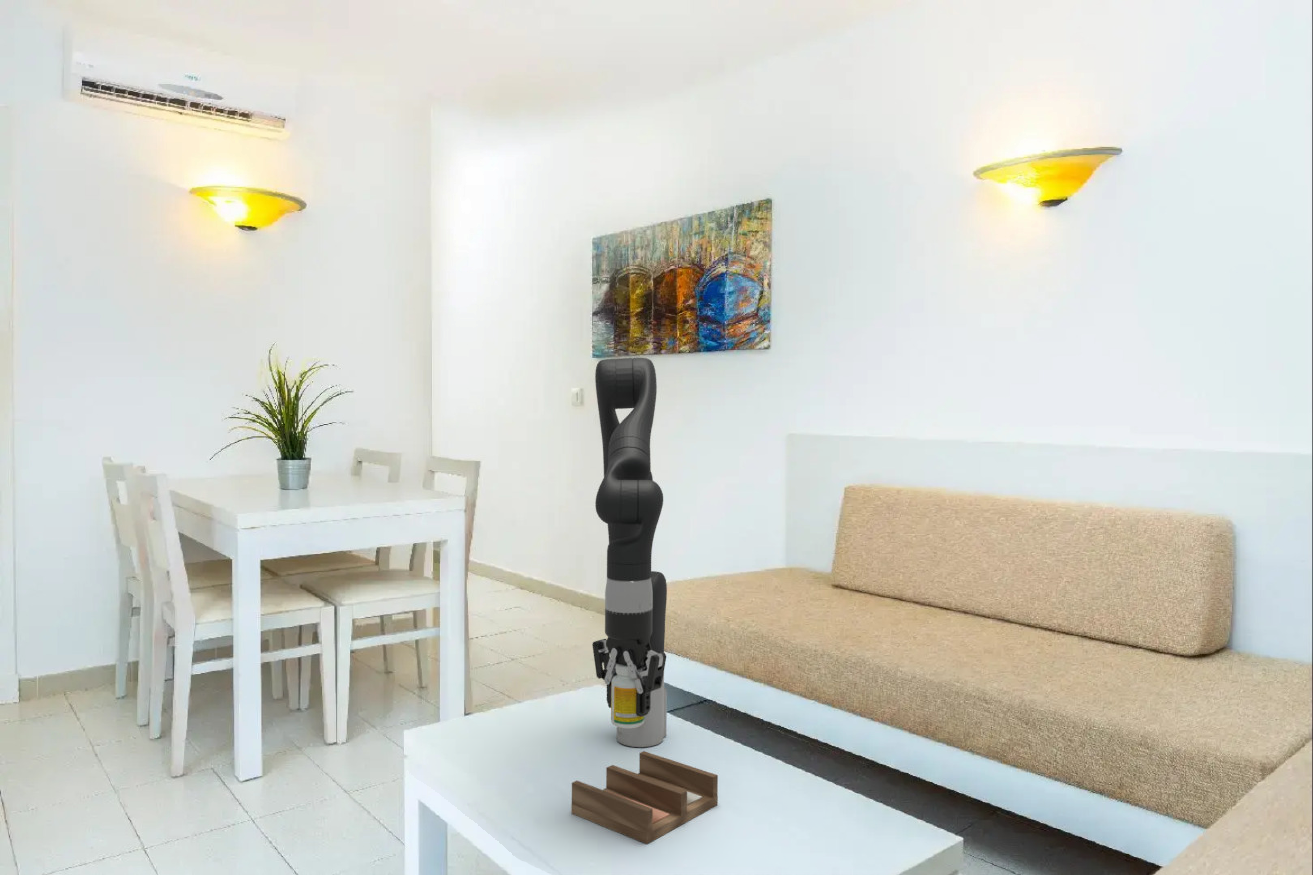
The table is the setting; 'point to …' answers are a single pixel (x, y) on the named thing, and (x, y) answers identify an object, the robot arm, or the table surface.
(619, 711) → the supplement bottle
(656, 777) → the brown shelf rack
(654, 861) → the table surface
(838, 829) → the table surface
